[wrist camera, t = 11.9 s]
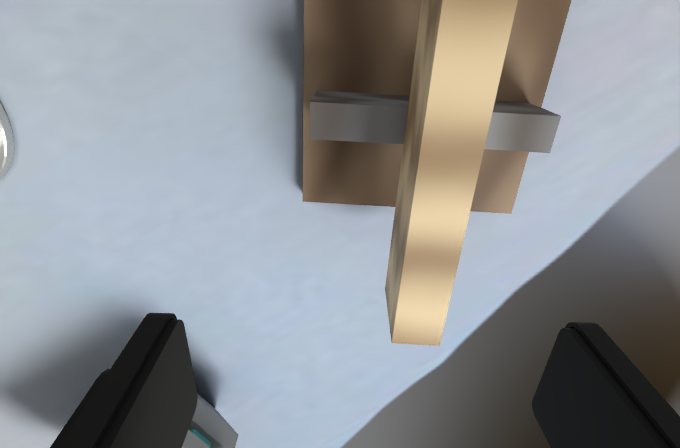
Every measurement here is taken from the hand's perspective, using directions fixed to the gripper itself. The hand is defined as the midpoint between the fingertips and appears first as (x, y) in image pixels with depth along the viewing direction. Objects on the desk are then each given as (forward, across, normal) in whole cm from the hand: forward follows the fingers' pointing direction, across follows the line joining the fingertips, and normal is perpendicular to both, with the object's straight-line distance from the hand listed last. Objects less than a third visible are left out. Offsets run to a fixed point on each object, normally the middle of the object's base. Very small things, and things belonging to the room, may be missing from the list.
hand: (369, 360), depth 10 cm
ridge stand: (+24, -6, -2) cm, 25 cm away
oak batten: (+18, -5, -2) cm, 19 cm away
